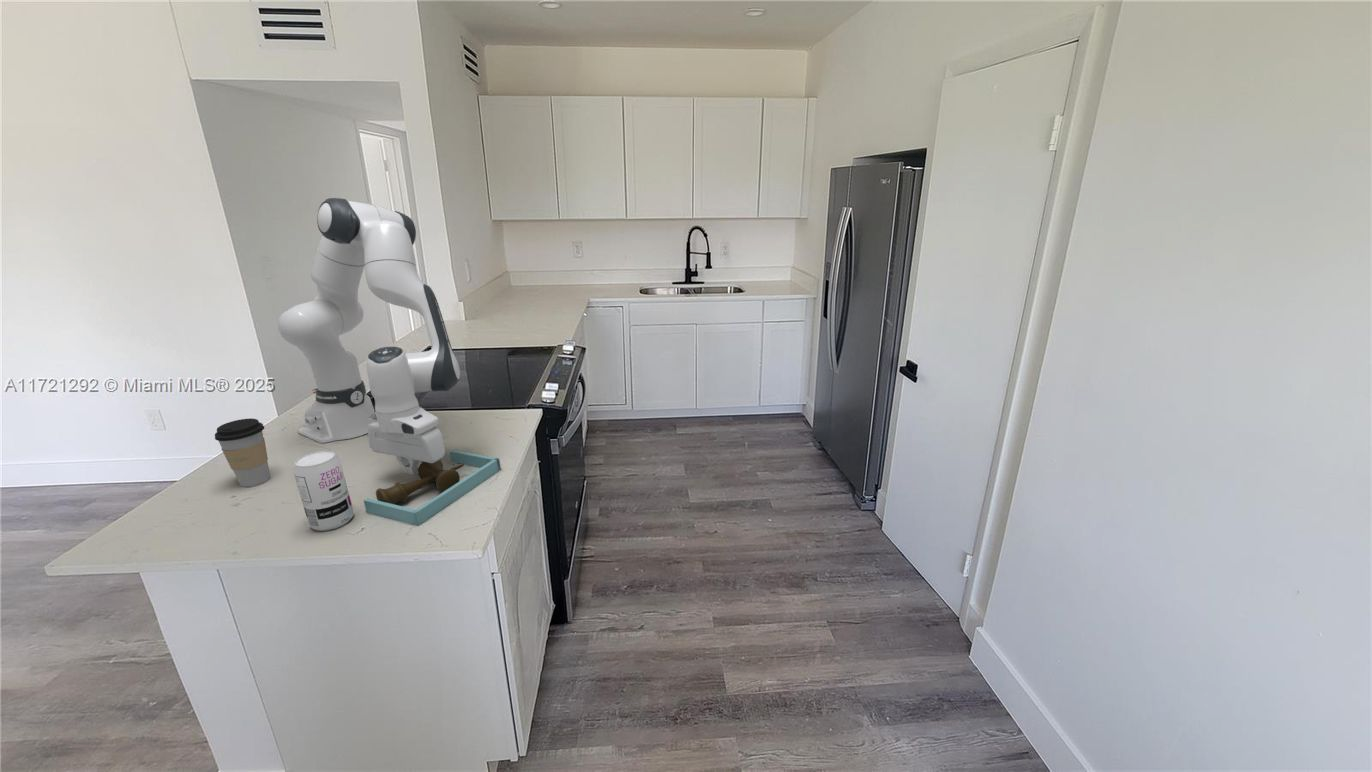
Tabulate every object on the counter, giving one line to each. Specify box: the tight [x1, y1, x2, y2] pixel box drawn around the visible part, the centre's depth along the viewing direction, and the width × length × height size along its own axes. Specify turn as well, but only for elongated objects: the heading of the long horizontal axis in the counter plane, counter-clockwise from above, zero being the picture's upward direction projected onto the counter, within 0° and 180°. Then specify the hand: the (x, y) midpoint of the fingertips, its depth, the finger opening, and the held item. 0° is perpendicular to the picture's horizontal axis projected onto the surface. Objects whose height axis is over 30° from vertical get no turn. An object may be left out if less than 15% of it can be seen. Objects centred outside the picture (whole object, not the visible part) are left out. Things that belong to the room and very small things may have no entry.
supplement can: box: [292, 450, 355, 532], centre depth 115 cm, size 8×8×15 cm
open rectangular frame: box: [363, 449, 502, 526], centre depth 129 cm, size 15×26×3 cm, turn 158°
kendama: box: [375, 459, 465, 505], centre depth 128 cm, size 6×10×20 cm
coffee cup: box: [214, 418, 271, 488], centre depth 133 cm, size 9×9×15 cm
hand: (411, 472), depth 131 cm, fingers closed
